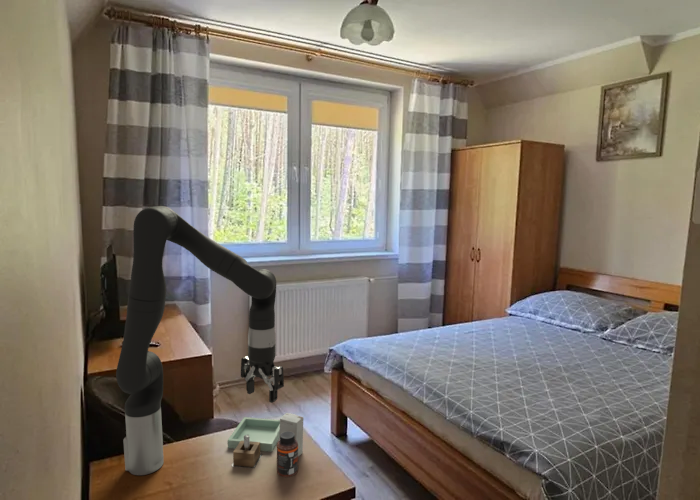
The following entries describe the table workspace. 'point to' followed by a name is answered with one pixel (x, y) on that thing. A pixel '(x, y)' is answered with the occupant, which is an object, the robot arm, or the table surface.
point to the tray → (257, 433)
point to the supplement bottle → (287, 454)
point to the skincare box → (293, 428)
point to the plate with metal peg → (247, 447)
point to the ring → (246, 454)
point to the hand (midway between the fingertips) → (261, 397)
